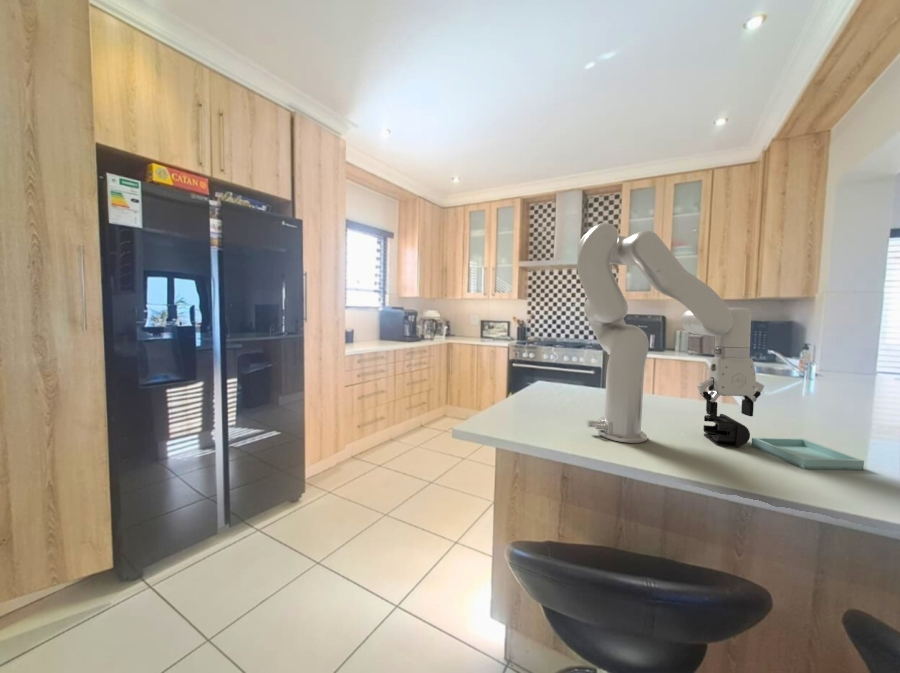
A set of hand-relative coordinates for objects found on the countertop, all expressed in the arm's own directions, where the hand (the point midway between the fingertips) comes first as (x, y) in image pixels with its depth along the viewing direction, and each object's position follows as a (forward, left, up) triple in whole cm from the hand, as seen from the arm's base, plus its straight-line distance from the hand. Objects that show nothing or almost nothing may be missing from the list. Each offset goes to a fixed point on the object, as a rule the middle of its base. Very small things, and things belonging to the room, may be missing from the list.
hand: (729, 415), depth 100 cm
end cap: (-1, 0, -8) cm, 8 cm away
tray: (+11, -10, -8) cm, 17 cm away
